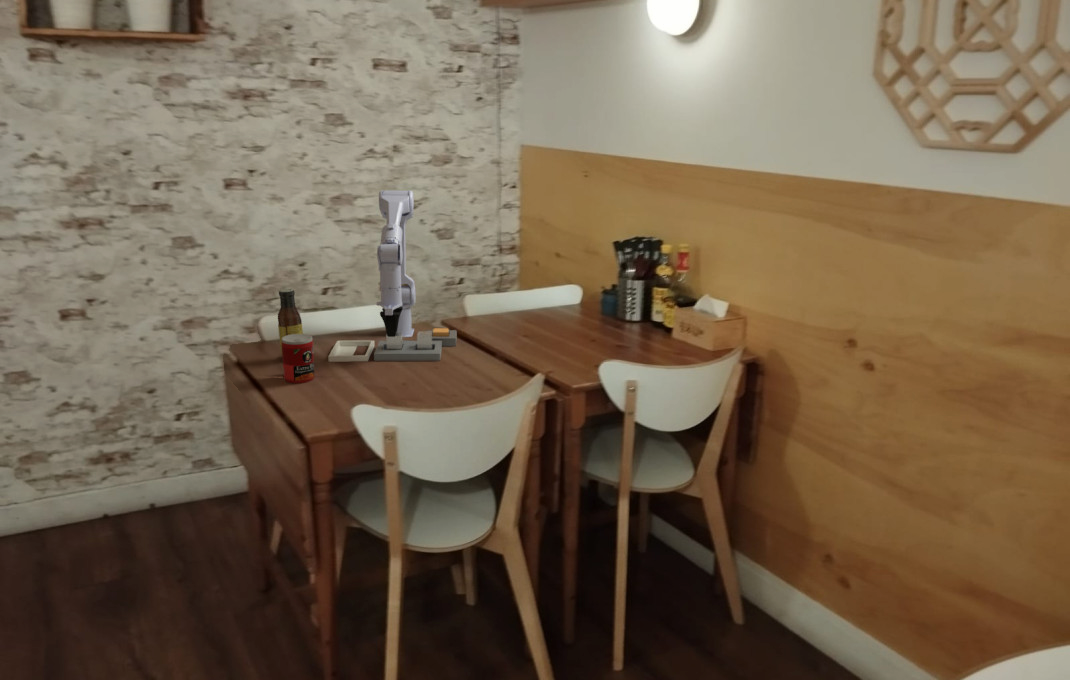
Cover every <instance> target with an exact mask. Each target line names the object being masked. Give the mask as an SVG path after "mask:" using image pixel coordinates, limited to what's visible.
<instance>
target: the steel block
mask: <svg viewBox="0 0 1070 680" xmlns="http://www.w3.org/2000/svg"><path fill="white" fill-rule="evenodd" d="M386 341H387V350H402V348H403V341H404V340H403V337H402V332H396V335H395V337H388V336H387V337H386Z"/></svg>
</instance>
